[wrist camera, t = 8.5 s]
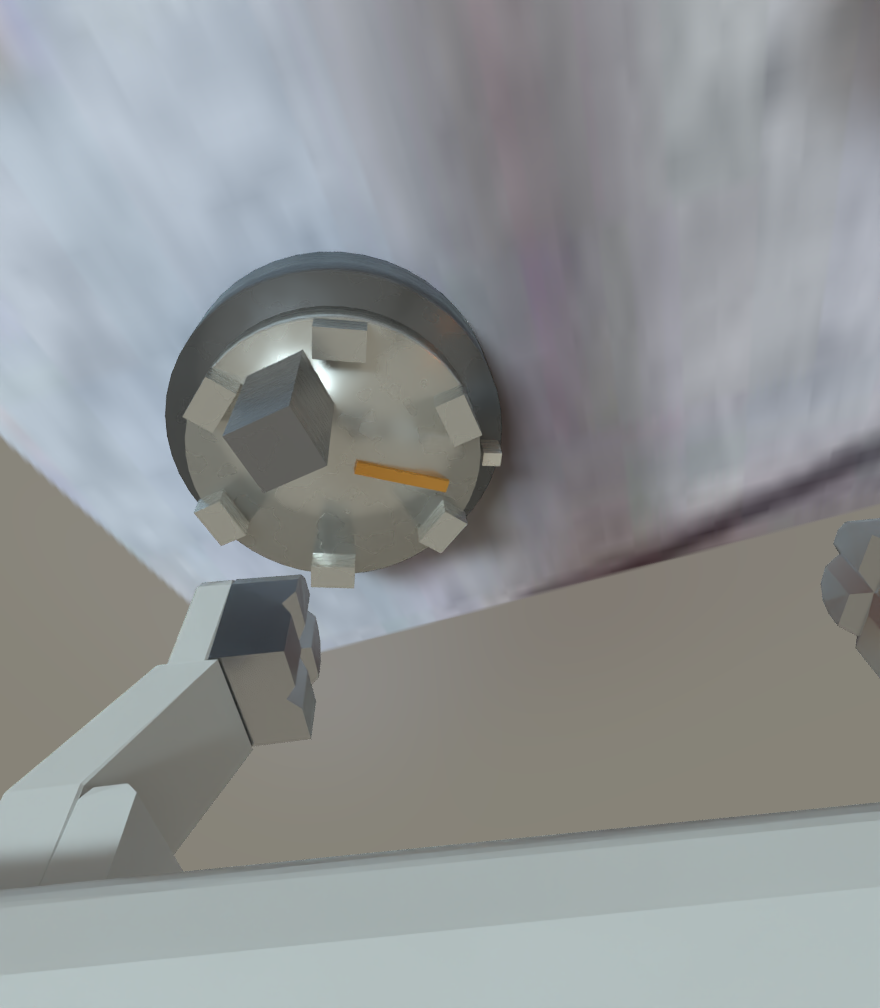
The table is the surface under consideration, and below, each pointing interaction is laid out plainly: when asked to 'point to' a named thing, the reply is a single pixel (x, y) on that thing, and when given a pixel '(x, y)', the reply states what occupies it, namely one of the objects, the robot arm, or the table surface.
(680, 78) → the table surface
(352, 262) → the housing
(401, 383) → the round clock
